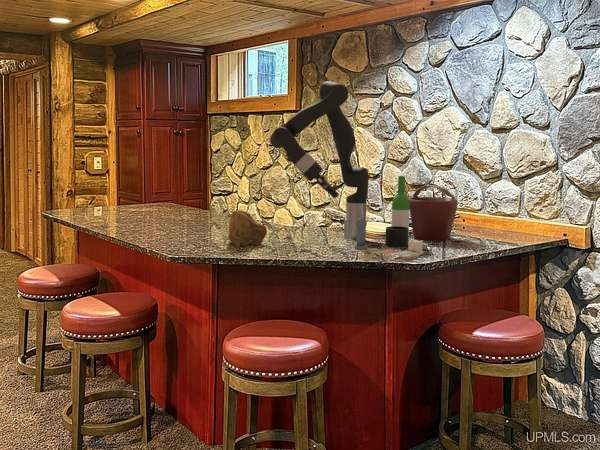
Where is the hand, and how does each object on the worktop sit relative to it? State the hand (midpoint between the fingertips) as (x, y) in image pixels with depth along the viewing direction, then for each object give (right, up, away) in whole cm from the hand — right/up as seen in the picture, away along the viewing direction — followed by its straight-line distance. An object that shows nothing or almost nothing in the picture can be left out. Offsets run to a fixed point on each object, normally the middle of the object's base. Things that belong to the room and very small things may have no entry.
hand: (336, 196), depth 265 cm
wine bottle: (+29, -20, +26) cm, 44 cm away
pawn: (+10, -21, +3) cm, 24 cm away
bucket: (+46, -18, +43) cm, 65 cm away
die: (+32, -23, +3) cm, 40 cm away
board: (+18, -24, -2) cm, 30 cm away
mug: (+26, -22, +14) cm, 37 cm away
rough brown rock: (-38, -20, +22) cm, 48 cm away
